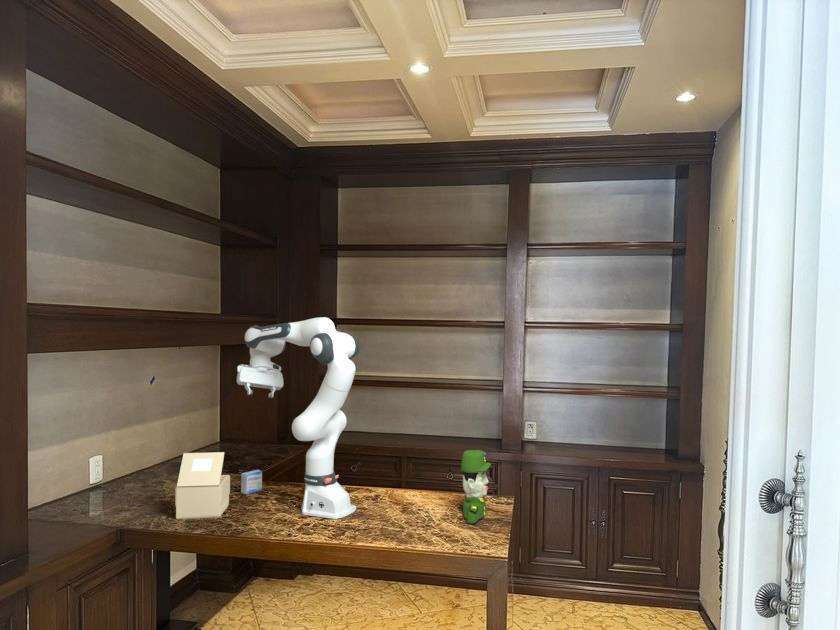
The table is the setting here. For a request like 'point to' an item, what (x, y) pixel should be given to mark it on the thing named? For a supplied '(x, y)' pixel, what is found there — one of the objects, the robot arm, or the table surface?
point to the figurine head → (474, 484)
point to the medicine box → (251, 481)
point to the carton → (202, 500)
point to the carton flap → (201, 469)
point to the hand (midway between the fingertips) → (260, 395)
